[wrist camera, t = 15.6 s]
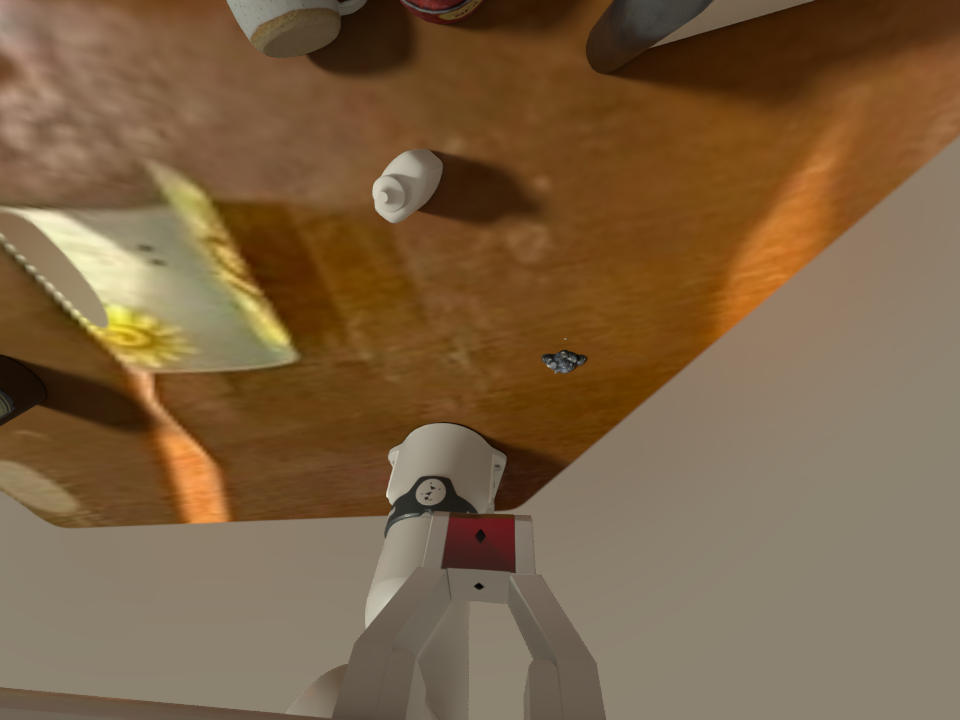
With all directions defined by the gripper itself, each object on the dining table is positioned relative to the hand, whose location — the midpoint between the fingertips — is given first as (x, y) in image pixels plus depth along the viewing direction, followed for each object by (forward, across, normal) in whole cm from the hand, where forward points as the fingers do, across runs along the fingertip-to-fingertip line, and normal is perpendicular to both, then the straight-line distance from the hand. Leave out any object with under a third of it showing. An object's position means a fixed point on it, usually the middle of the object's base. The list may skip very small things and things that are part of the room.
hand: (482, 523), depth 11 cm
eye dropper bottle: (+31, +8, -7) cm, 33 cm away
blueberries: (+32, -8, +13) cm, 35 cm away
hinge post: (+31, -8, -16) cm, 36 cm away
